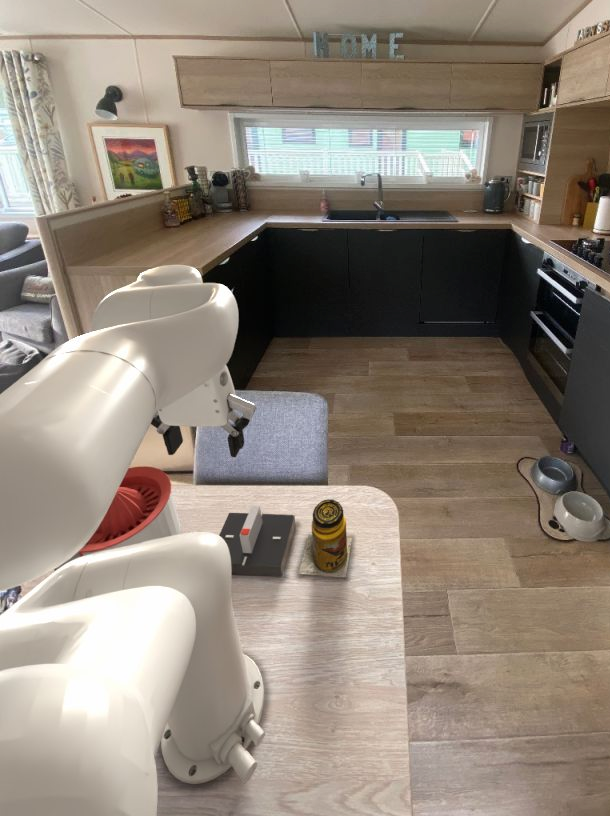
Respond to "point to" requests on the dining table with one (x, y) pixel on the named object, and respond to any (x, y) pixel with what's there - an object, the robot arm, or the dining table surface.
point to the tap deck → (260, 544)
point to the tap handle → (251, 529)
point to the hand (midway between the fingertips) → (206, 449)
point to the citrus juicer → (136, 513)
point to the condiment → (327, 542)
